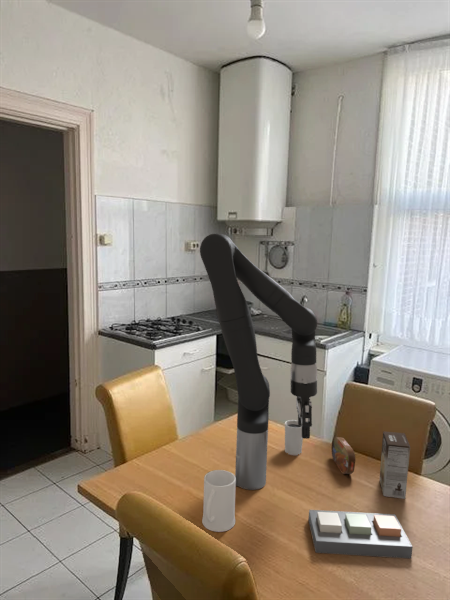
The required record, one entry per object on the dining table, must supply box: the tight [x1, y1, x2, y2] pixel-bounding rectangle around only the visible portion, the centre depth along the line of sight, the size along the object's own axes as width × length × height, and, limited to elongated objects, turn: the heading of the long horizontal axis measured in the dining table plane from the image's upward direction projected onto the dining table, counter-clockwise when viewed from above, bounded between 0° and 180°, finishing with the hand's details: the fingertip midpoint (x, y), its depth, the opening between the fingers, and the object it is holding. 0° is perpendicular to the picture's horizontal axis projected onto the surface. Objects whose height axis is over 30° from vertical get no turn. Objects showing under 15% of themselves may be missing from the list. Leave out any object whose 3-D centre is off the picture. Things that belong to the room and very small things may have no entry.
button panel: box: [308, 509, 413, 559], centre depth 107 cm, size 22×12×3 cm, turn 87°
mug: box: [201, 469, 237, 533], centre depth 110 cm, size 12×8×12 cm
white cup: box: [284, 419, 304, 456], centre depth 150 cm, size 7×7×10 cm
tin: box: [331, 436, 356, 475], centre depth 141 cm, size 15×3×8 cm, turn 5°
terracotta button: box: [373, 515, 401, 537], centre depth 106 cm, size 5×5×3 cm
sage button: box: [345, 513, 371, 535], centre depth 107 cm, size 5×5×3 cm
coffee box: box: [379, 431, 411, 500], centre depth 128 cm, size 9×6×16 cm
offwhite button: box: [317, 512, 342, 533], centre depth 107 cm, size 5×5×3 cm
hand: (303, 431), depth 127 cm, fingers open, 8 cm apart
